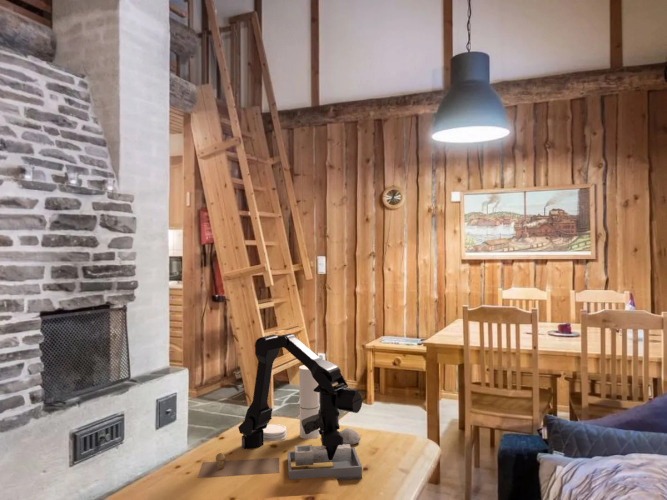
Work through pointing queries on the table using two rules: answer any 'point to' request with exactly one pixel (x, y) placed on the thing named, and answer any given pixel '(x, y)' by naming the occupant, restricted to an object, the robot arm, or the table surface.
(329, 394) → the robot arm
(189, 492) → the table surface
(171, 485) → the table surface
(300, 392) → the cylindrical container
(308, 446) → the square nut with handle
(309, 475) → the tray
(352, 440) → the pebble
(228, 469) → the stud board
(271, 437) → the white round stack
